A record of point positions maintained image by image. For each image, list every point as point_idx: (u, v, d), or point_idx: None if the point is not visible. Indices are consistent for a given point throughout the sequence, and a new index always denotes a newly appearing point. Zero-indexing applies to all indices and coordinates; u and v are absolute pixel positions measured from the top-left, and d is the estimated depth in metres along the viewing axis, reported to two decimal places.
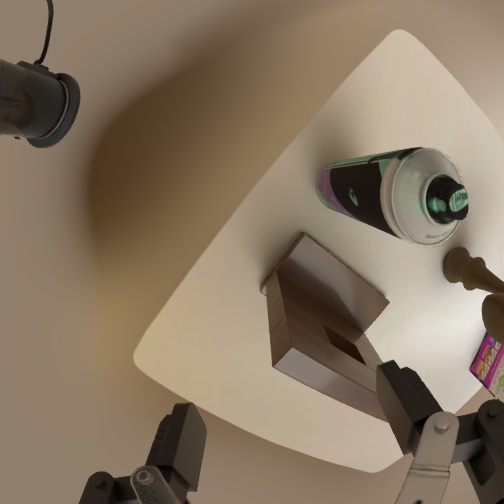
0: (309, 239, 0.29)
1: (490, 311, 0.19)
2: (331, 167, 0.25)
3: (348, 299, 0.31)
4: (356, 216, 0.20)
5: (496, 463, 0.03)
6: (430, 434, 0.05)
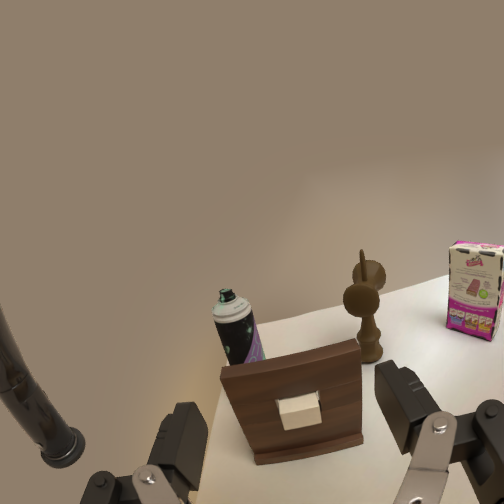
0: None
1: (353, 307, 0.38)
2: None
3: None
4: (240, 358, 0.37)
5: (495, 463, 0.03)
6: (428, 434, 0.06)
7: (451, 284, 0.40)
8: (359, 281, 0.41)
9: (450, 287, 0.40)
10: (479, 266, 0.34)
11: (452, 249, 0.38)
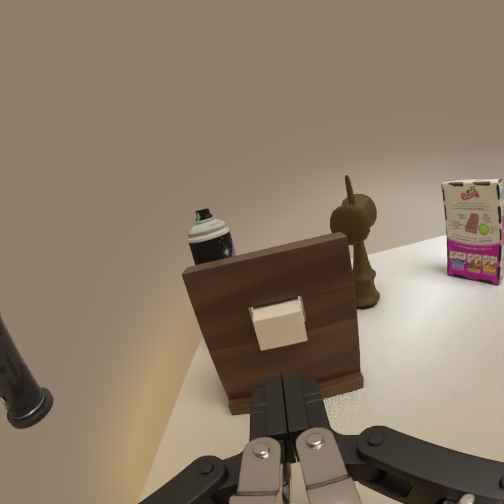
0: None
1: (342, 232, 0.35)
2: None
3: None
4: None
5: (410, 479, 0.05)
6: (307, 452, 0.07)
7: (448, 223, 0.38)
8: None
9: (447, 226, 0.38)
10: (475, 198, 0.32)
11: (445, 184, 0.36)
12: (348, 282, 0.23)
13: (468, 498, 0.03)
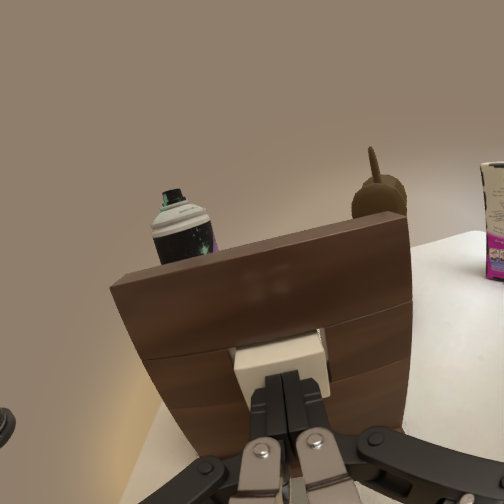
0: None
1: None
2: None
3: None
4: None
5: (410, 480, 0.05)
6: (307, 452, 0.07)
7: (488, 214, 0.27)
8: None
9: (488, 218, 0.27)
10: None
11: (484, 165, 0.25)
12: (405, 300, 0.12)
13: (468, 498, 0.03)
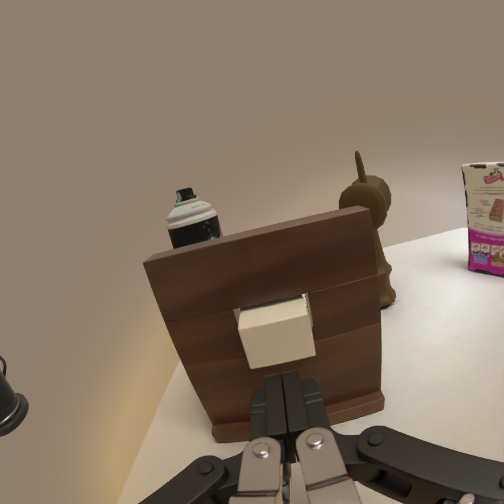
0: None
1: None
2: None
3: None
4: None
5: (409, 480, 0.05)
6: (307, 452, 0.07)
7: (470, 211, 0.31)
8: None
9: (469, 214, 0.31)
10: (500, 181, 0.25)
11: (465, 166, 0.29)
12: (371, 274, 0.16)
13: (468, 498, 0.03)
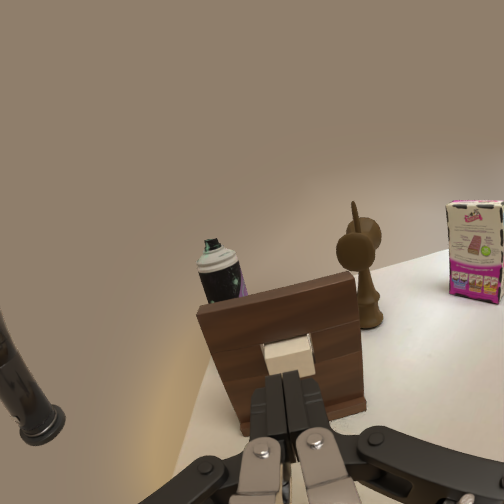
0: None
1: (348, 259, 0.36)
2: None
3: None
4: None
5: (410, 480, 0.05)
6: (307, 452, 0.07)
7: (451, 244, 0.38)
8: None
9: (450, 247, 0.38)
10: (479, 221, 0.32)
11: (449, 206, 0.37)
12: (354, 319, 0.24)
13: (468, 498, 0.03)
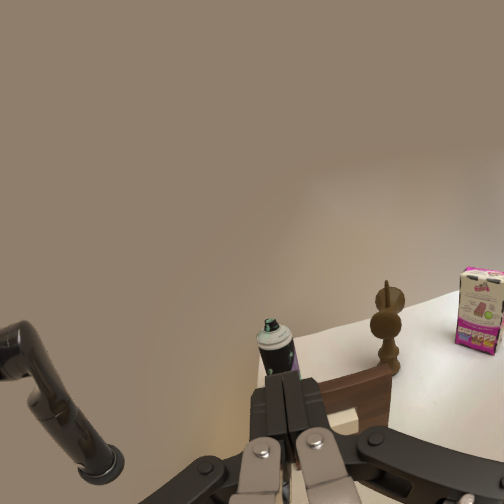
0: None
1: (379, 331, 0.41)
2: None
3: None
4: None
5: (409, 480, 0.05)
6: (307, 452, 0.07)
7: (460, 306, 0.43)
8: (383, 307, 0.44)
9: (460, 308, 0.43)
10: (486, 291, 0.37)
11: (463, 276, 0.42)
12: (387, 395, 0.29)
13: (468, 498, 0.03)
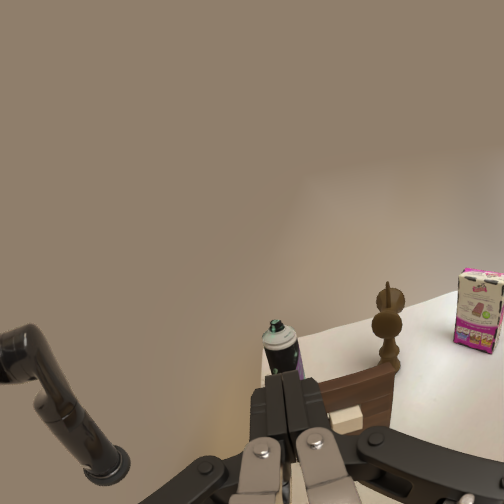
0: None
1: (380, 331, 0.42)
2: None
3: None
4: None
5: (410, 480, 0.05)
6: (307, 452, 0.07)
7: (459, 306, 0.45)
8: (384, 307, 0.46)
9: (458, 308, 0.45)
10: (484, 292, 0.38)
11: (461, 277, 0.43)
12: (390, 392, 0.30)
13: (468, 498, 0.03)
